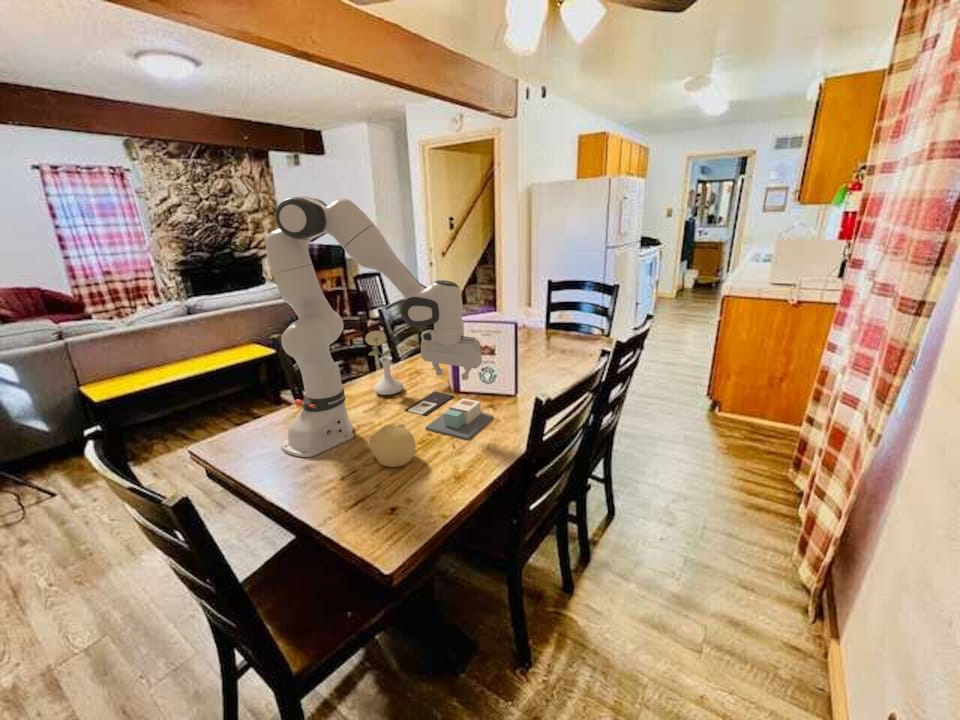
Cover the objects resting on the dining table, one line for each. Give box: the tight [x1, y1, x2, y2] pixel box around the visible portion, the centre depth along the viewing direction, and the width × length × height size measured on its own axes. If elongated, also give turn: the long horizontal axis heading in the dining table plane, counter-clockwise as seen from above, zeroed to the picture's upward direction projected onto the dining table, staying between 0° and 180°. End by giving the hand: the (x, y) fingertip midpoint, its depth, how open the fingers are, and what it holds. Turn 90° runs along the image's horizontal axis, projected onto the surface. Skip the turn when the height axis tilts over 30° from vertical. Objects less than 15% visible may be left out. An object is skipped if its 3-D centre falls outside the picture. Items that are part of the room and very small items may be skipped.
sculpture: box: [368, 423, 417, 468], centre depth 123 cm, size 11×12×11 cm
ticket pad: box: [425, 397, 494, 441], centre depth 144 cm, size 17×16×5 cm
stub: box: [443, 407, 464, 429], centre depth 141 cm, size 4×5×4 cm
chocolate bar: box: [404, 391, 455, 417], centre depth 161 cm, size 9×1×18 cm
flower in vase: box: [364, 330, 404, 396], centre depth 168 cm, size 13×11×25 cm
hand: (452, 377), depth 137 cm, fingers open, 8 cm apart
